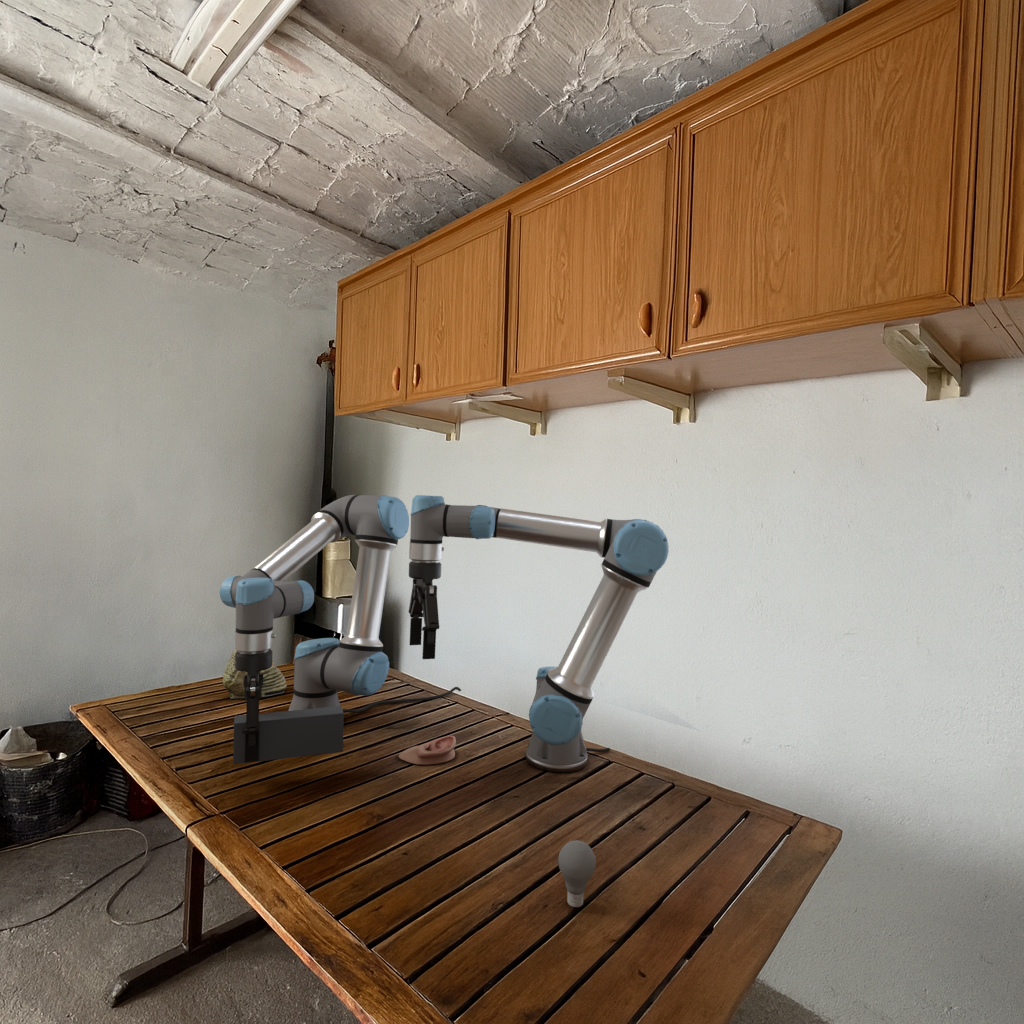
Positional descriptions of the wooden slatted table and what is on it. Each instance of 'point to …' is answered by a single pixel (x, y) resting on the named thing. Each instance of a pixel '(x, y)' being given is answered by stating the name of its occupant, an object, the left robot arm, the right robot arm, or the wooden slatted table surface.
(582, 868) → the light bulb
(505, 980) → the wooden slatted table surface
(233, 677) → the fossil
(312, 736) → the bar
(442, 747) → the anatomical model
